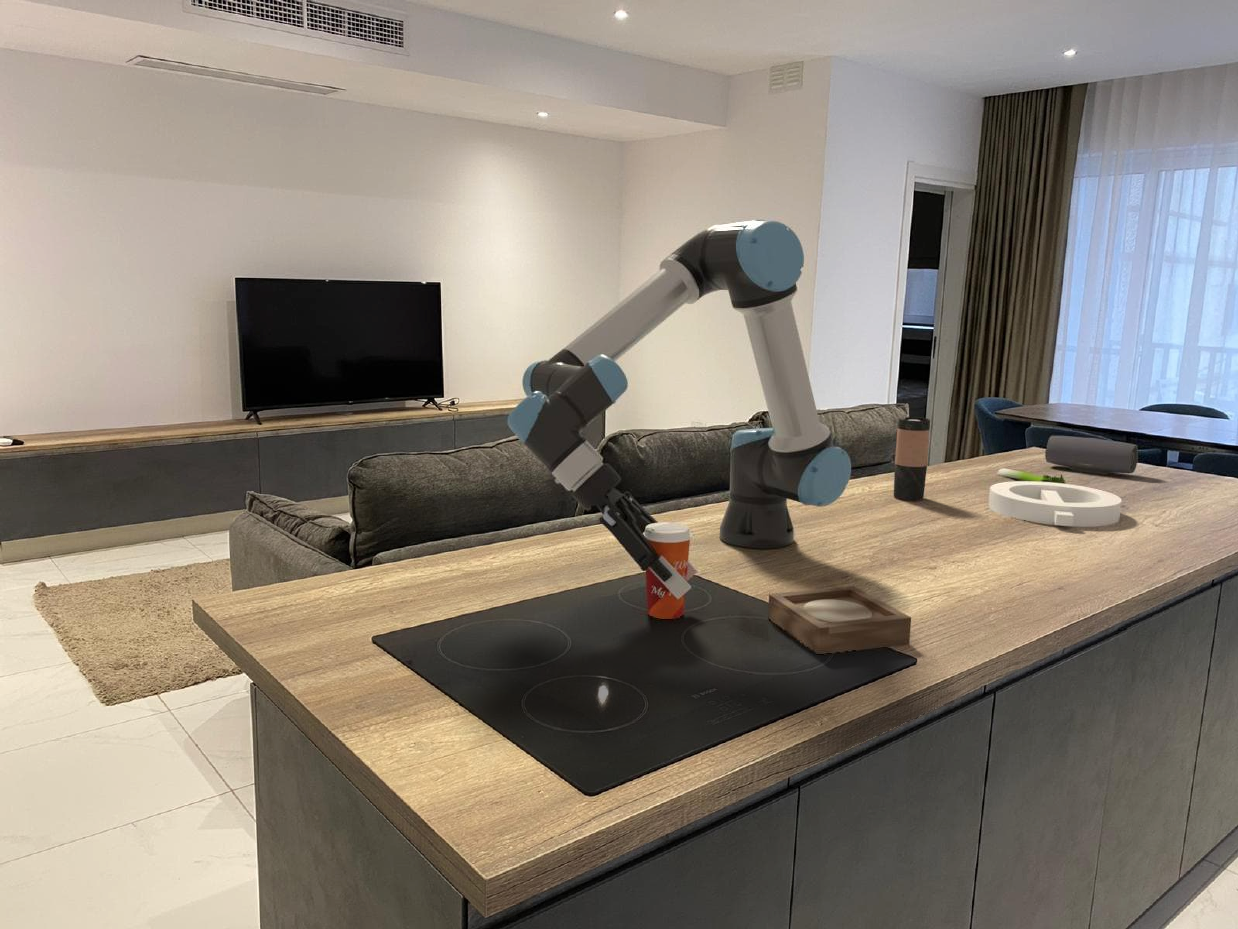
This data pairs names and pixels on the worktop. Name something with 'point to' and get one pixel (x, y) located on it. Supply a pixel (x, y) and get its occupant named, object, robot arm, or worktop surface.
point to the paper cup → (675, 549)
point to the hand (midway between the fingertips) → (688, 584)
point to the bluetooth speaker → (1092, 454)
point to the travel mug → (911, 458)
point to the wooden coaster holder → (839, 619)
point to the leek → (1030, 476)
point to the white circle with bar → (1055, 503)
